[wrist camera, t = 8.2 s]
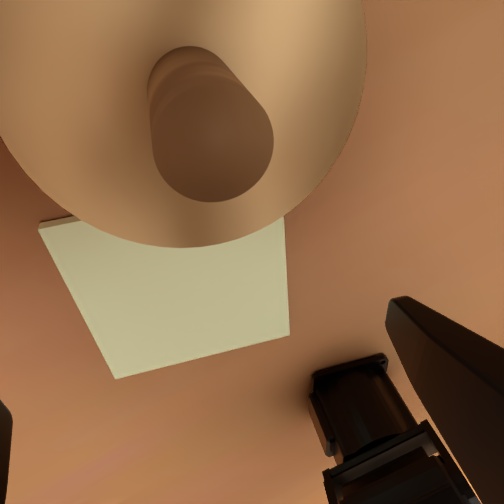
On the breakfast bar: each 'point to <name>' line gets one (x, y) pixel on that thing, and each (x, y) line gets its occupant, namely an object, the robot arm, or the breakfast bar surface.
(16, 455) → the breakfast bar surface
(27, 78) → the lid
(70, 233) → the mat
